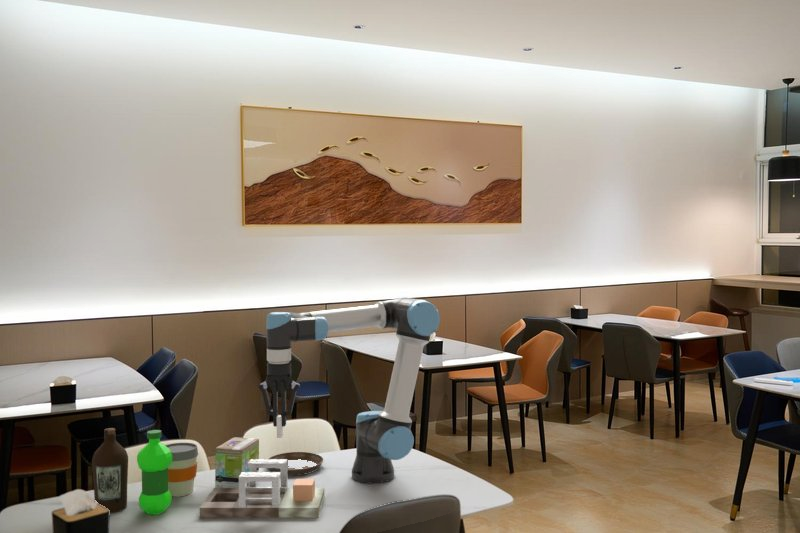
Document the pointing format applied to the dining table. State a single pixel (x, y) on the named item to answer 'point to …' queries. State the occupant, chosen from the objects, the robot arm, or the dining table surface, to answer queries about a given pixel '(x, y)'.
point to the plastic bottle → (154, 474)
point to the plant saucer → (296, 456)
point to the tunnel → (263, 477)
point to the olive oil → (110, 473)
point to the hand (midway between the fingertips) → (279, 436)
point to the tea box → (234, 461)
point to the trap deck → (258, 505)
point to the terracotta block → (303, 490)
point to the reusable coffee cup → (182, 468)
